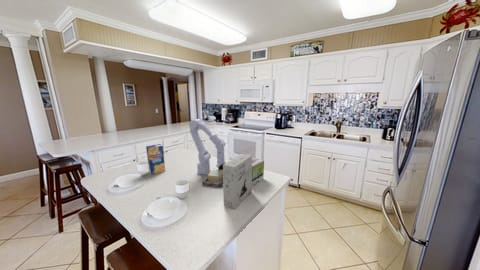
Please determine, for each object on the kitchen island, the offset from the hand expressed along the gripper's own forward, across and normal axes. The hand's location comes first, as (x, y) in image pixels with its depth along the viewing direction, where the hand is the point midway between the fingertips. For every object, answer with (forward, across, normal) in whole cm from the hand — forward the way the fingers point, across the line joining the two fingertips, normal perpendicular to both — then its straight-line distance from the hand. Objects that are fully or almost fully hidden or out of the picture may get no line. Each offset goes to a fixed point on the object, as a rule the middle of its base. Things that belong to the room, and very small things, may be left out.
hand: (221, 172), depth 142 cm
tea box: (+2, -5, -26) cm, 27 cm away
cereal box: (+2, -30, -21) cm, 37 cm away
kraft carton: (+2, -8, +2) cm, 8 cm away
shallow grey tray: (+1, -13, 0) cm, 13 cm away
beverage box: (+2, -6, +54) cm, 54 cm away
